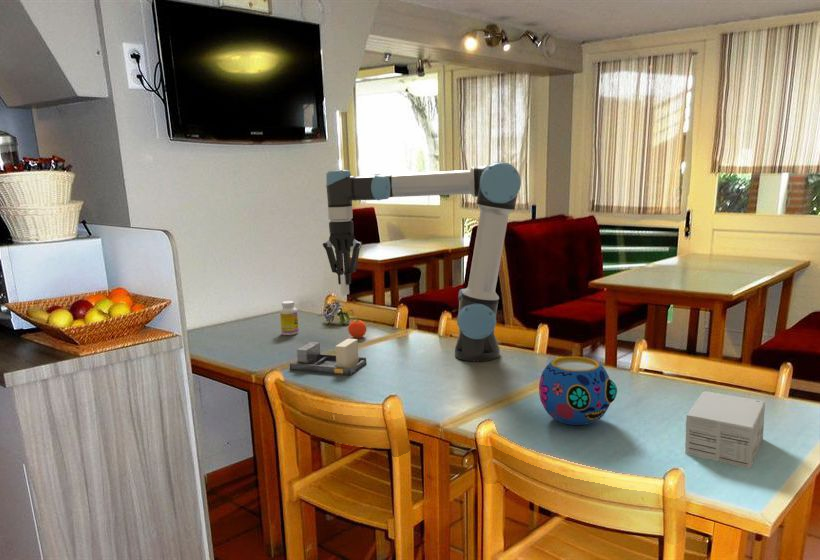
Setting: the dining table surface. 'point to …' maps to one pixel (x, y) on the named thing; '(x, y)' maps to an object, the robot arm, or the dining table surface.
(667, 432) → the dining table surface
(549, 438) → the dining table surface
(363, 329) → the clementine
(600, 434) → the dining table surface
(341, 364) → the cream rectangular block
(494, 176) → the robot arm
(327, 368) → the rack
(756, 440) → the supplement box
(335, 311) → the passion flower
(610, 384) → the ceramic pot
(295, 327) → the supplement bottle
